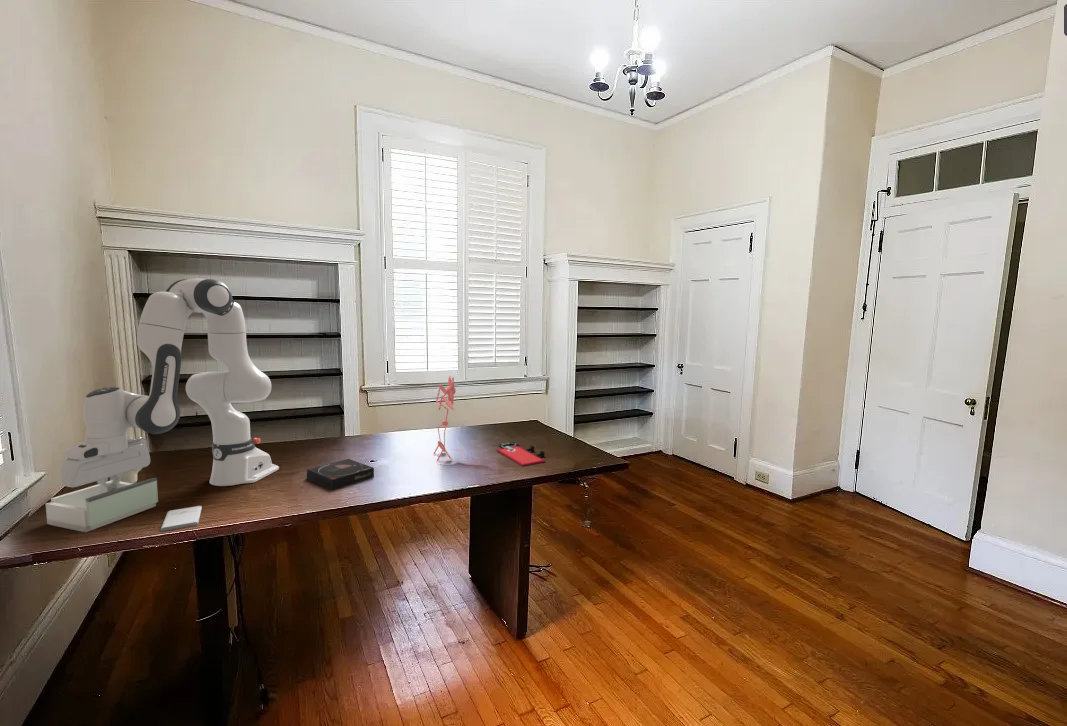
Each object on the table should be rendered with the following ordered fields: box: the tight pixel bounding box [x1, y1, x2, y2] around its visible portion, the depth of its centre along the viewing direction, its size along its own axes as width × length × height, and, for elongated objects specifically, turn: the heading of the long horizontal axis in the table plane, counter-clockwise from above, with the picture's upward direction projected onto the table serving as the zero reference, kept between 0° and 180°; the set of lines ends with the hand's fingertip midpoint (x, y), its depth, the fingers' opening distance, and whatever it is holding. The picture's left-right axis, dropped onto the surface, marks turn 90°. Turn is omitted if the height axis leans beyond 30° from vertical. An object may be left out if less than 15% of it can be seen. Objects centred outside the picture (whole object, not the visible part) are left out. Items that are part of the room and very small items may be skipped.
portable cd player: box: [306, 458, 375, 491], centre depth 168 cm, size 16×17×4 cm
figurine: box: [433, 375, 468, 466], centre depth 195 cm, size 15×26×35 cm, turn 22°
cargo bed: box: [45, 480, 157, 533], centre depth 133 cm, size 18×15×7 cm
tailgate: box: [86, 476, 159, 526], centre depth 131 cm, size 17×1×8 cm, turn 165°
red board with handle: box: [496, 441, 546, 467], centre depth 203 cm, size 30×3×15 cm
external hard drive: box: [160, 505, 202, 532], centre depth 132 cm, size 2×8×12 cm
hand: (110, 491), depth 132 cm, fingers closed
